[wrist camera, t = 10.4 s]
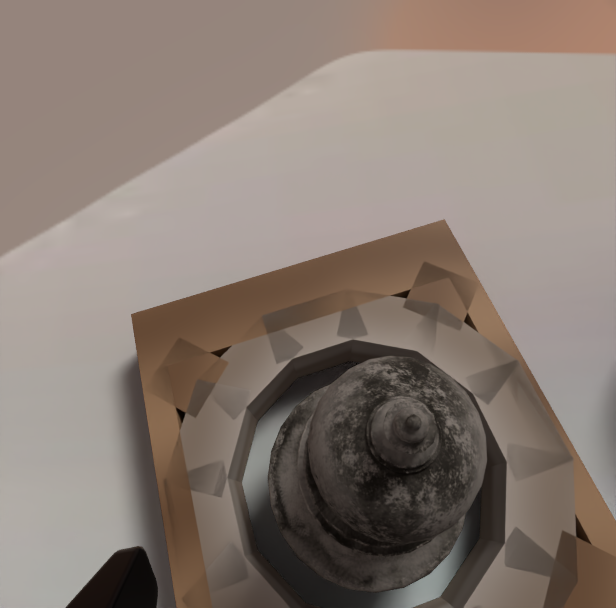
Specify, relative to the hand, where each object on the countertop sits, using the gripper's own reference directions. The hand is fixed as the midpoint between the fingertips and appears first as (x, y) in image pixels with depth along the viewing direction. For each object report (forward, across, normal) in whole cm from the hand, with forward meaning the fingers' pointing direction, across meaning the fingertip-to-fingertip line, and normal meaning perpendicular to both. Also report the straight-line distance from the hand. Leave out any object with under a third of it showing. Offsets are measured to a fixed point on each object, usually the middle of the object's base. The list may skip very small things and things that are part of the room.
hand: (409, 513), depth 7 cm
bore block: (+7, 0, +6) cm, 9 cm away
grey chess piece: (+7, 0, +6) cm, 9 cm away
